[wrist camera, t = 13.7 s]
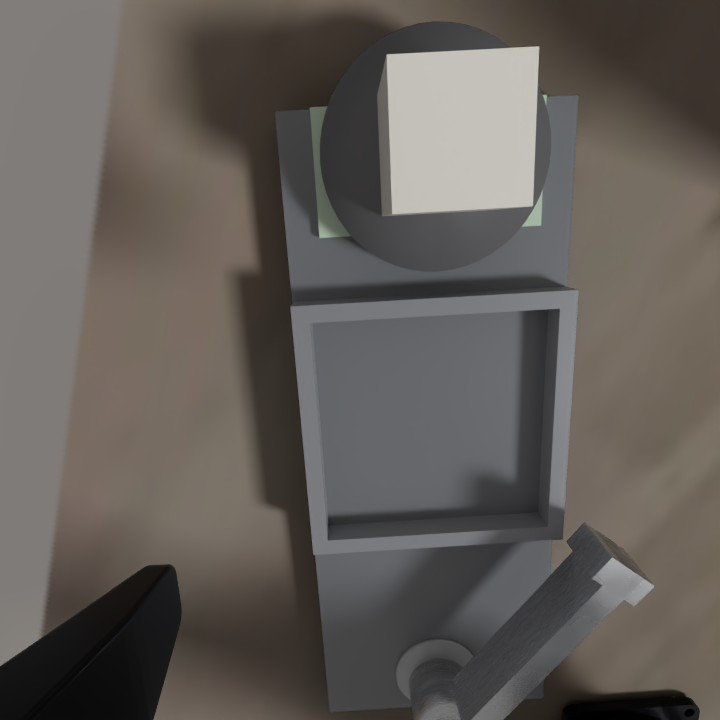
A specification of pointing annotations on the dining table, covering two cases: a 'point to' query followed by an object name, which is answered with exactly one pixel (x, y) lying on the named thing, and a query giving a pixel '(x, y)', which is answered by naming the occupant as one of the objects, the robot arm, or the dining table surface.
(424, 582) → the socket base
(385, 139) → the plug
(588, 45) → the dining table surface
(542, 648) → the pivoting lever handle
